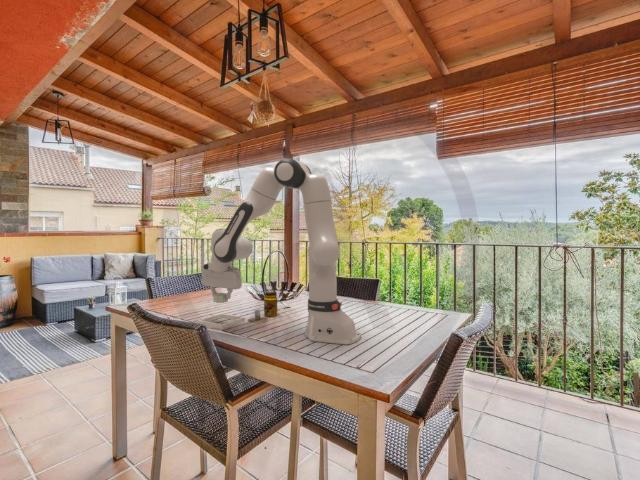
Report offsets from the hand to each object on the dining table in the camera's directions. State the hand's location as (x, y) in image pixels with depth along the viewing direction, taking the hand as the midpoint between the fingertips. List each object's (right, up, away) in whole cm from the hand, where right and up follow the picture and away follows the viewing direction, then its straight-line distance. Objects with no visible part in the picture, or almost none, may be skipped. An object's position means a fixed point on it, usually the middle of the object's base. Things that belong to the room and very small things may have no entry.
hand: (221, 297), depth 151 cm
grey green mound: (+15, -12, +5) cm, 20 cm away
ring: (0, -2, 0) cm, 2 cm away
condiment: (+20, -12, +14) cm, 27 cm away
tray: (0, -12, +1) cm, 12 cm away
